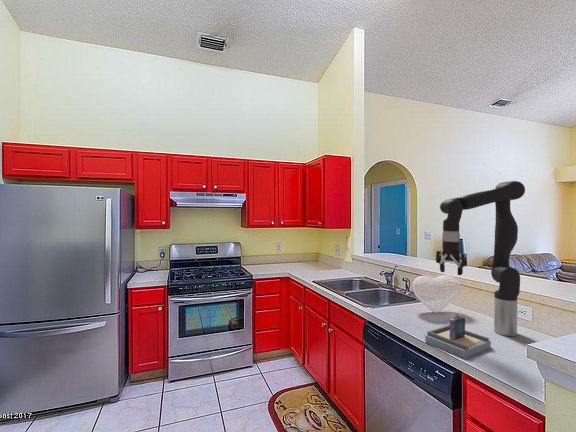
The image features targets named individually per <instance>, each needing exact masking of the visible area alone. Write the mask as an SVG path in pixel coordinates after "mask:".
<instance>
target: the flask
mask: <svg viewBox="0 0 576 432" xmlns="http://www.w3.org/2000/svg"><path fill="white" fill-rule="evenodd" d="M453 315H454V317H452V318H450V319H449V325H450V339H451V340H456V339H460V338H463V337H465V330H466V317H465V316H463V315H460V314H458V313H454V314H453Z"/></svg>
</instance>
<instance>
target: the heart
mask: <svg viewBox="0 0 576 432" xmlns="http://www.w3.org/2000/svg"><path fill="white" fill-rule="evenodd" d="M411 285H412V287H411V289H412V291H413V293H414V295H415V297H416V298H417V299H418V300H419V301H420V302H421V303H422V304H423V305H424V306H425V307H426V308H428V310H430V311H431V312H432V313H436V314H438V313H439V312H441V311H443V310H444V309H445V308H446V307H448V305H449V304H450V303H452V302H453V301H454V300H456V299H457V297H458V296H459V295H460V292H461V284H460V282H459V281H458V279H457V278H456V277H454V276H452V275H449V274H442V275H438V276H436V277H432V276H429V275H419V276H418V277H417V276H416V277H415V278H414V279H413V281H412V284H411Z"/></svg>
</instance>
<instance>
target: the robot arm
mask: <svg viewBox="0 0 576 432" xmlns="http://www.w3.org/2000/svg"><path fill="white" fill-rule="evenodd" d="M525 193H526V187H525V185H524V184H523V183H522V182H520V181H517V180H510V181H509V180H508V181H504V182H503V181H502V182H500V183H498V184H497V185H496V186H495V188H494V189H489V190H483V191H479V192H474V193H473V192H472V193H469V194H465V195H463V196H459V197H455V198H454V197H453V198H449V199H446V200H443V201H442V202H441V203H440V206H439V208H440V211H441V213H444V214H446V215H447V217H446V218H445V219H444V220H443V222H442V234H441V236H442V238H441V240H442V242H441V243H442V244H441V245H442V246H441V249H442V250H437V251H436V253H435V254H436V256H435V263H437V264H439V271H440V273H445V270H446V269H445V268H446V267H445V265H446V264H445V263H446V262H453V263H454V264H456V265H457V275H458V276H462V275H463V273H464V271H463V268H465V267H468V259H467V253H461V252H460V250H461V235H460V222H461V218H462V214H463V210H464V211H466V210H472V209H475V208H478V207H482V206H485V205H489V204H492V203H495V204H494V205H495V226H494V245H493V247H494V248H493V259H492V264H491V272H490V273H491V277H492V280H493V281H495V282H497V283H498V284H499V285H498V286H499V287H498V290H494V295H493V296H494V297H493V300H494V301H493V302H494V303H493V305H494V307H493V308H494V311H493V313H494V316H493V317H494V318H493V322H494V323H493V325H494V327H493V328H494V330H493V332H495V333H496V334H499V335H501V336H506V337H516V336H518V297H519V295H520V290H521V275H520V271H519V270H517V269H516V268H515V267H513V266H510V256H511V253H512V252H513V250H514V248H515V246H516V244H517V242H518V238H519V237H518V234H519V227H518V224H517V222H516V218H515V217H514V216H513V213H512V211H511V201H514V200H519V199H520V198H522V197H523V196H524V195H525Z"/></svg>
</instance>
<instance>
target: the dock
mask: <svg viewBox="0 0 576 432" xmlns="http://www.w3.org/2000/svg"><path fill="white" fill-rule="evenodd" d="M424 338H425V340H424V341H425V343H427V344H429V345H432V346H434V347H436V348H439V349H442V350H443V351H446V352H448V353H450V354H454V355H455V356H457V357H460V358H463V359H466V358H469V357H471V356H475V355H476V354H478V353H481V352H483V351H487V350H488V349H490V348H492V342H491V340H490V338H489V337H486V336H484V335H481V334H478V333H475V332H472V331H469V330H466V329H465V337H463V338H460V339H456V340H451V339H450V324H449V325H448V324H447V325H445V326H441V327H438V328H435V329H432V330H428V331H427V332H426V335H425V336H424Z"/></svg>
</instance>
